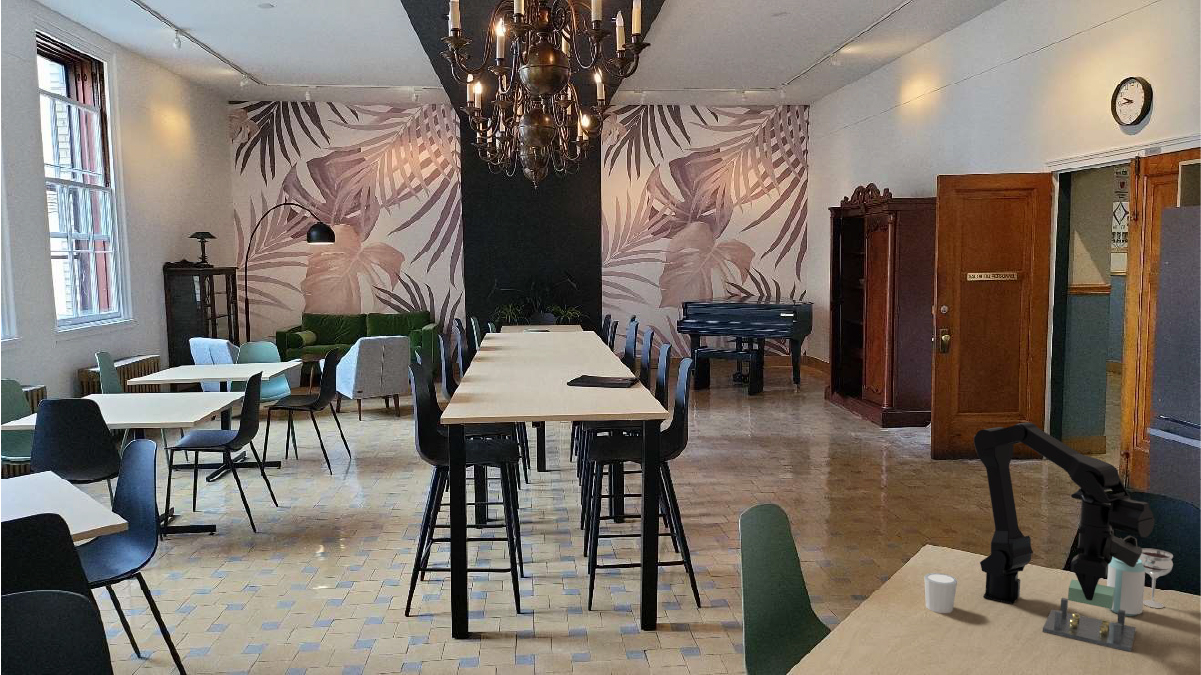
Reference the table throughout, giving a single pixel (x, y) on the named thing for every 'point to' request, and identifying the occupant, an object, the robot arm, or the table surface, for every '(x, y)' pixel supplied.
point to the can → (1127, 586)
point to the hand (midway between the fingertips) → (1090, 595)
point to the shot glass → (940, 592)
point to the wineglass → (1155, 569)
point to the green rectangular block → (1100, 598)
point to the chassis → (1090, 628)
